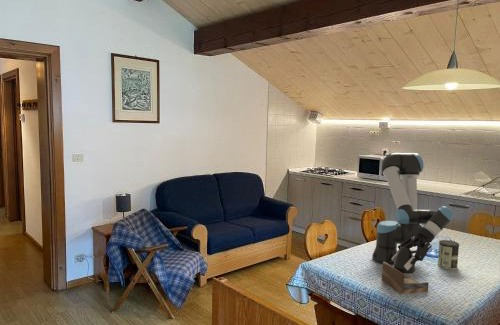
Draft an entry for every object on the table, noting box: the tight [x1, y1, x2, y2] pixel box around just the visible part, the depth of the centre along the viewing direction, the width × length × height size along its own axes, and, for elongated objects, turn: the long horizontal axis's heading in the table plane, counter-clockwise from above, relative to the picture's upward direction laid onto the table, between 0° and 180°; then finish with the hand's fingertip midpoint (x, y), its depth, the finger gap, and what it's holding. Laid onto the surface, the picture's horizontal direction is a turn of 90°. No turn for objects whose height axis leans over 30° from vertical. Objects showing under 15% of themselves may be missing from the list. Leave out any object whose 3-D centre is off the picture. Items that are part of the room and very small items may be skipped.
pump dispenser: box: [392, 247, 417, 278], centre depth 190 cm, size 10×10×15 cm
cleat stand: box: [381, 262, 429, 295], centre depth 191 cm, size 15×16×10 cm
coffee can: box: [437, 239, 460, 271], centre depth 219 cm, size 10×10×14 cm
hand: (399, 264), depth 189 cm, fingers closed on pump dispenser, 9 cm apart
